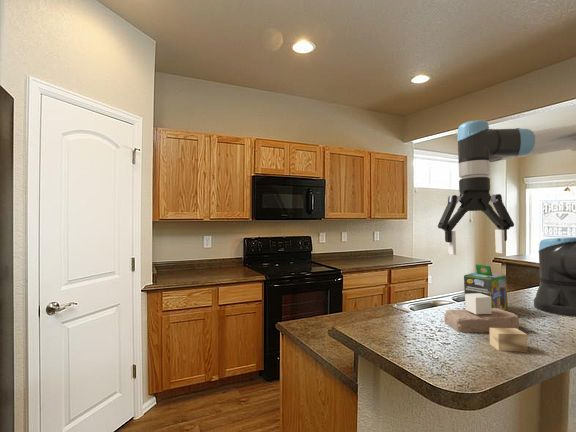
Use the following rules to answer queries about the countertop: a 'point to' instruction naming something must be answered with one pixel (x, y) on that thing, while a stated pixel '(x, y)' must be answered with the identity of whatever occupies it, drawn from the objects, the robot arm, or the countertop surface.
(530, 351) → the countertop surface
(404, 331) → the countertop surface
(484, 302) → the beige cube
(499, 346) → the oak block
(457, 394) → the countertop surface
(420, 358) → the countertop surface
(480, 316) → the brick
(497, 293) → the chalk box
